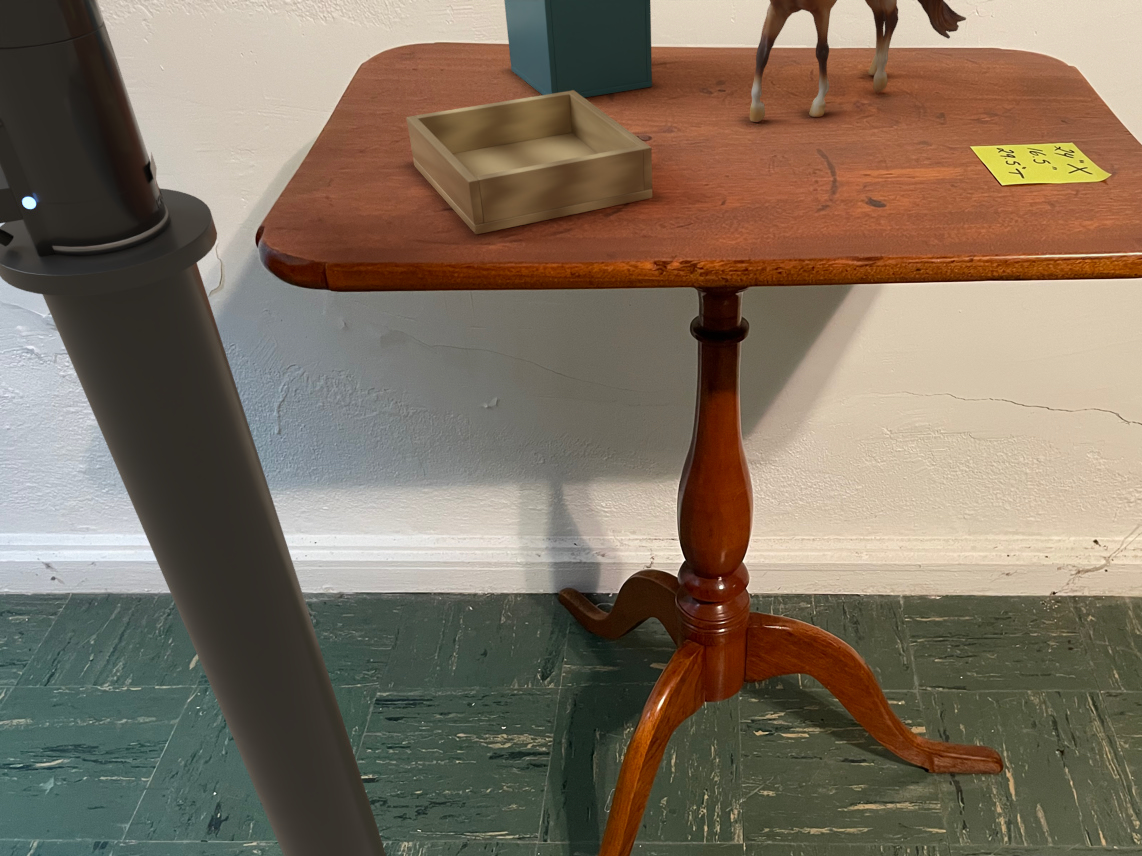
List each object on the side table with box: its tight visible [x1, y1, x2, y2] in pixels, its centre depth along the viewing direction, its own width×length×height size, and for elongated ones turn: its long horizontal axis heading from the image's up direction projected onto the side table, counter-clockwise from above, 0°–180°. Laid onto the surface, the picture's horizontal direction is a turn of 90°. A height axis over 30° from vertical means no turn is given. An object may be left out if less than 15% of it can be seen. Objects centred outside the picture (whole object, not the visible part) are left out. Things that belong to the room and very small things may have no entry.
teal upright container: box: [504, 0, 653, 99], centre depth 110 cm, size 11×11×11 cm
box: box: [405, 90, 653, 235], centre depth 91 cm, size 16×16×4 cm
